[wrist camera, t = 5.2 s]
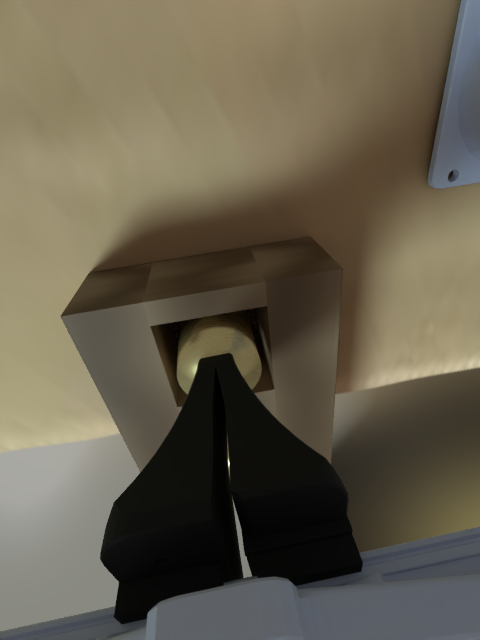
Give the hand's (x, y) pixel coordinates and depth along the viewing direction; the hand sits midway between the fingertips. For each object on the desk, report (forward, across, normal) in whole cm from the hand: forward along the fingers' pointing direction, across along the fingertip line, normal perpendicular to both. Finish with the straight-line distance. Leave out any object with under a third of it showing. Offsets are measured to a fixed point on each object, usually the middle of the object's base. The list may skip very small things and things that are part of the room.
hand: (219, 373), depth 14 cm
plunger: (+4, 0, 0) cm, 4 cm away
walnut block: (+5, 0, +4) cm, 6 cm away
